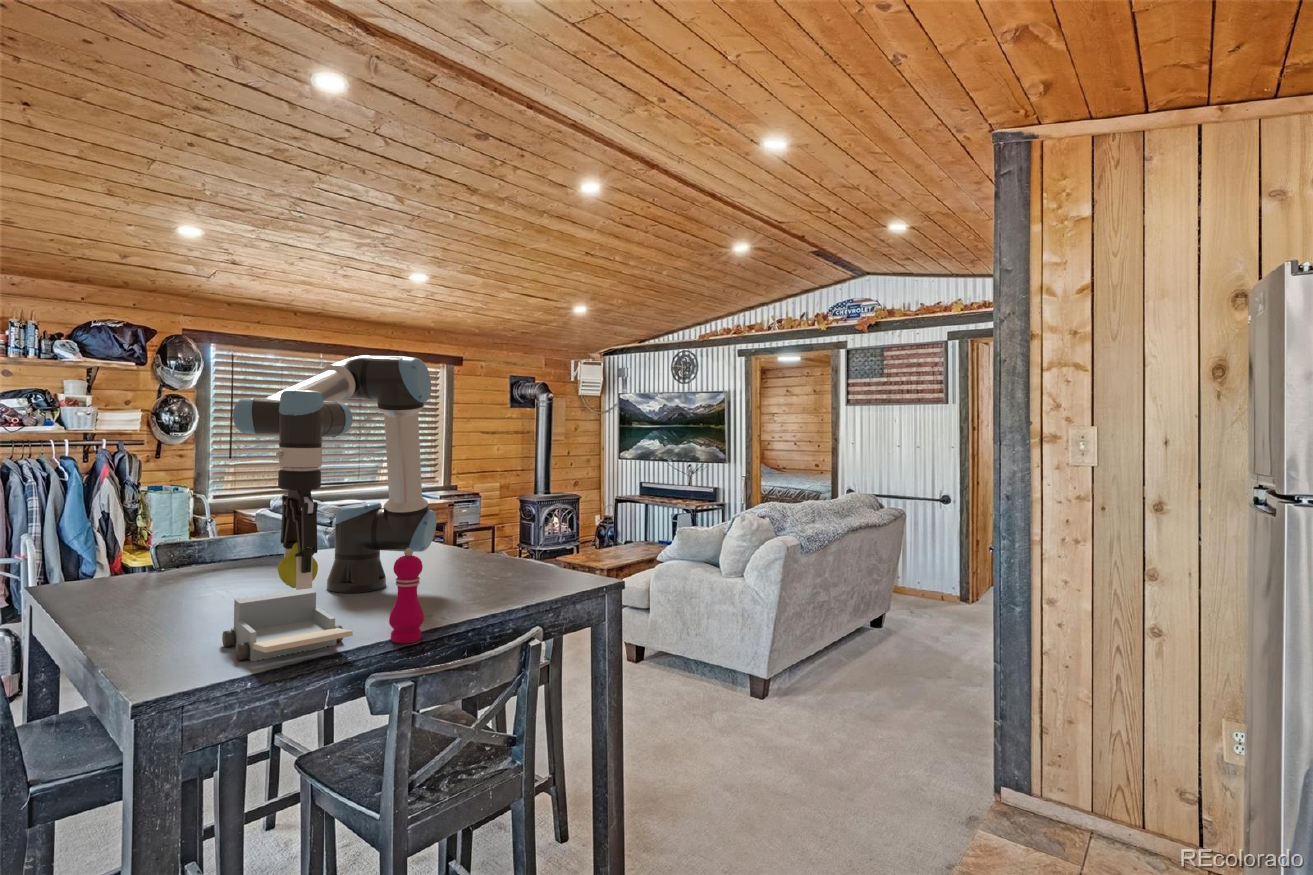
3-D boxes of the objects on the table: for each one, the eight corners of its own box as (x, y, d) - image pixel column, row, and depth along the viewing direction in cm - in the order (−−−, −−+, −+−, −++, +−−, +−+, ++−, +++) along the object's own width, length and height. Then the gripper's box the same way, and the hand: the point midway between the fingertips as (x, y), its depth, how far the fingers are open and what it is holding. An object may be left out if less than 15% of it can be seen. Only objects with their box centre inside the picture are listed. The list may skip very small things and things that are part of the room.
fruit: (289, 593, 133) (291, 531, 133) (270, 587, 137) (271, 527, 136) (323, 586, 139) (325, 527, 139) (304, 581, 143) (305, 523, 142)
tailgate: (252, 643, 136) (265, 647, 130) (337, 627, 147) (352, 630, 141) (252, 649, 136) (265, 653, 130) (337, 633, 147) (352, 636, 141)
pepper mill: (394, 633, 156) (396, 544, 156) (427, 634, 157) (429, 545, 156) (384, 644, 149) (386, 551, 148) (418, 644, 150) (421, 552, 149)
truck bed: (220, 643, 146) (221, 601, 145) (319, 626, 159) (320, 587, 159) (241, 664, 135) (242, 617, 135) (345, 643, 149) (346, 601, 148)
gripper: (264, 465, 142) (262, 577, 142) (295, 473, 127) (293, 598, 128) (303, 464, 147) (301, 572, 148) (338, 472, 133) (335, 592, 133)
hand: (297, 584), depth 138 cm, fingers closed on fruit, 7 cm apart
